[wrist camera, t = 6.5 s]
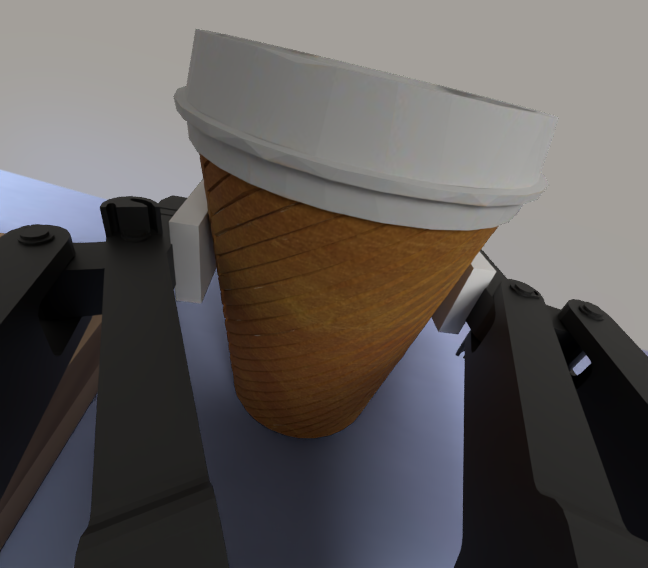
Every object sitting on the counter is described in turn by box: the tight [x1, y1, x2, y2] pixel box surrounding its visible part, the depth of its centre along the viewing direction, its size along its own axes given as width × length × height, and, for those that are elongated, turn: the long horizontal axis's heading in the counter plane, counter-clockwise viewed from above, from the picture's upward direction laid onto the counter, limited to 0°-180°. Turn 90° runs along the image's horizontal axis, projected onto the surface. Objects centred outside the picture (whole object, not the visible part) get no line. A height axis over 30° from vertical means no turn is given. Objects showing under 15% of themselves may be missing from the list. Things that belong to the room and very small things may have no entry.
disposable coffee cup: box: [174, 29, 559, 438], centre depth 12 cm, size 10×10×12 cm
